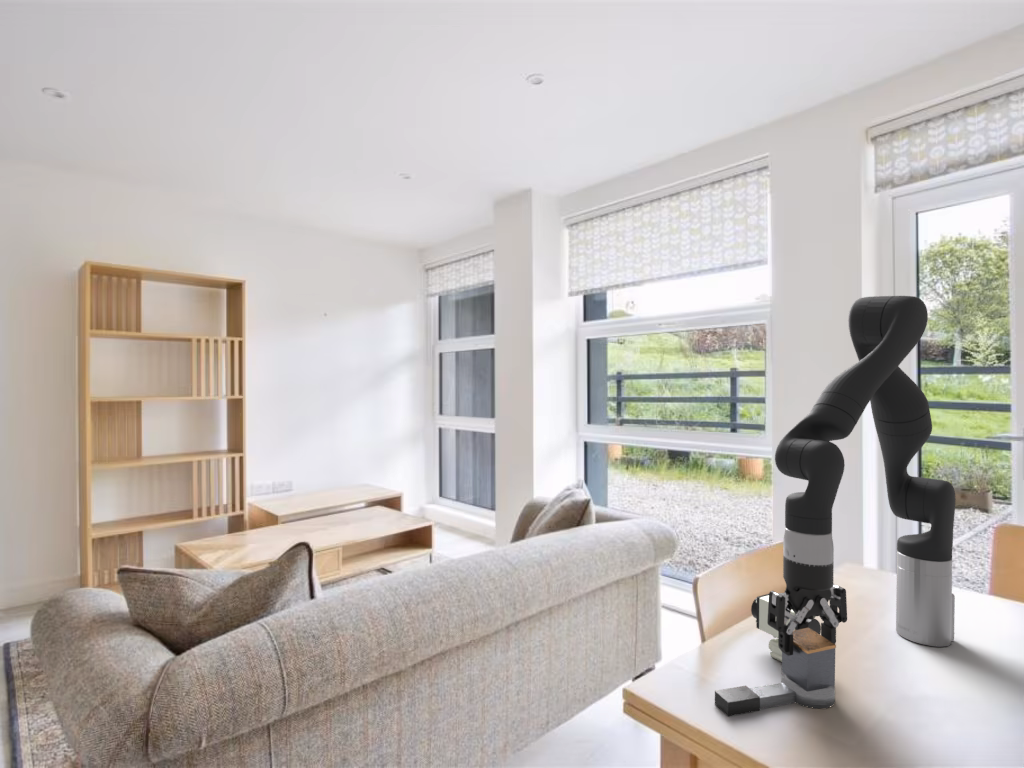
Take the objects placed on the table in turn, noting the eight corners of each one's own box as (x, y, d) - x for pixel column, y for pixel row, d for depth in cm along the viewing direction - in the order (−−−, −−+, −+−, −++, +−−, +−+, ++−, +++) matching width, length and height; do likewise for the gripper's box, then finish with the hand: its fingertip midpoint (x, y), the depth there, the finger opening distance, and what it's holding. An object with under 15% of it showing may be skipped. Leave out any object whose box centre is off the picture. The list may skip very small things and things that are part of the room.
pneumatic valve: (804, 677, 98) (805, 611, 98) (750, 648, 108) (750, 588, 108) (824, 669, 100) (824, 605, 100) (768, 642, 111) (769, 583, 111)
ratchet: (808, 678, 97) (808, 645, 97) (846, 704, 90) (846, 668, 90) (706, 696, 92) (706, 660, 92) (737, 725, 84) (738, 686, 84)
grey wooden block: (835, 685, 90) (835, 644, 90) (807, 691, 89) (807, 651, 88) (808, 665, 96) (808, 627, 95) (781, 671, 94) (781, 633, 94)
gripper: (789, 567, 87) (789, 667, 87) (860, 559, 91) (860, 655, 91) (757, 552, 94) (756, 645, 94) (824, 545, 98) (823, 634, 98)
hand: (807, 649), depth 93 cm, fingers open, 8 cm apart
